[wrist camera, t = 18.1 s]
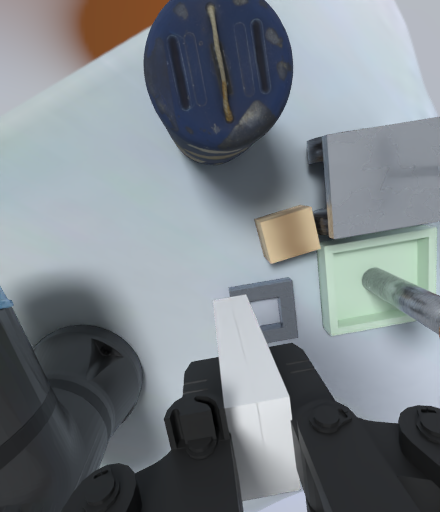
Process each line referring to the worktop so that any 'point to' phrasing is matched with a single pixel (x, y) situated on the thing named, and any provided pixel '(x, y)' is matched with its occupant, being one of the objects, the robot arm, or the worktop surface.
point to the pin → (405, 296)
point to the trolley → (379, 178)
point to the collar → (285, 304)
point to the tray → (363, 258)
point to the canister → (217, 74)
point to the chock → (287, 233)
